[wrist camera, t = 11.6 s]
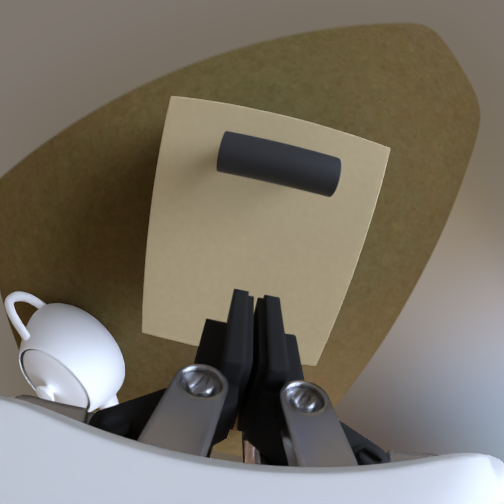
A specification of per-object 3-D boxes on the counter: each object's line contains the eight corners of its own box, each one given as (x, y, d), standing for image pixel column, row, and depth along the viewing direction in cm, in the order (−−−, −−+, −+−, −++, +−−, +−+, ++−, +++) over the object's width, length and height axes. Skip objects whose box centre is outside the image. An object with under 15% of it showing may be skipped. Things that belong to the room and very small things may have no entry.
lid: (174, 97, 15) (142, 81, 10) (385, 147, 16) (428, 152, 11) (144, 326, 20) (120, 371, 15) (314, 359, 21) (325, 409, 16)
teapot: (14, 290, 30) (-35, 331, 20) (71, 249, 28) (9, 294, 18) (105, 408, 37) (81, 461, 26) (175, 395, 34) (156, 462, 24)
